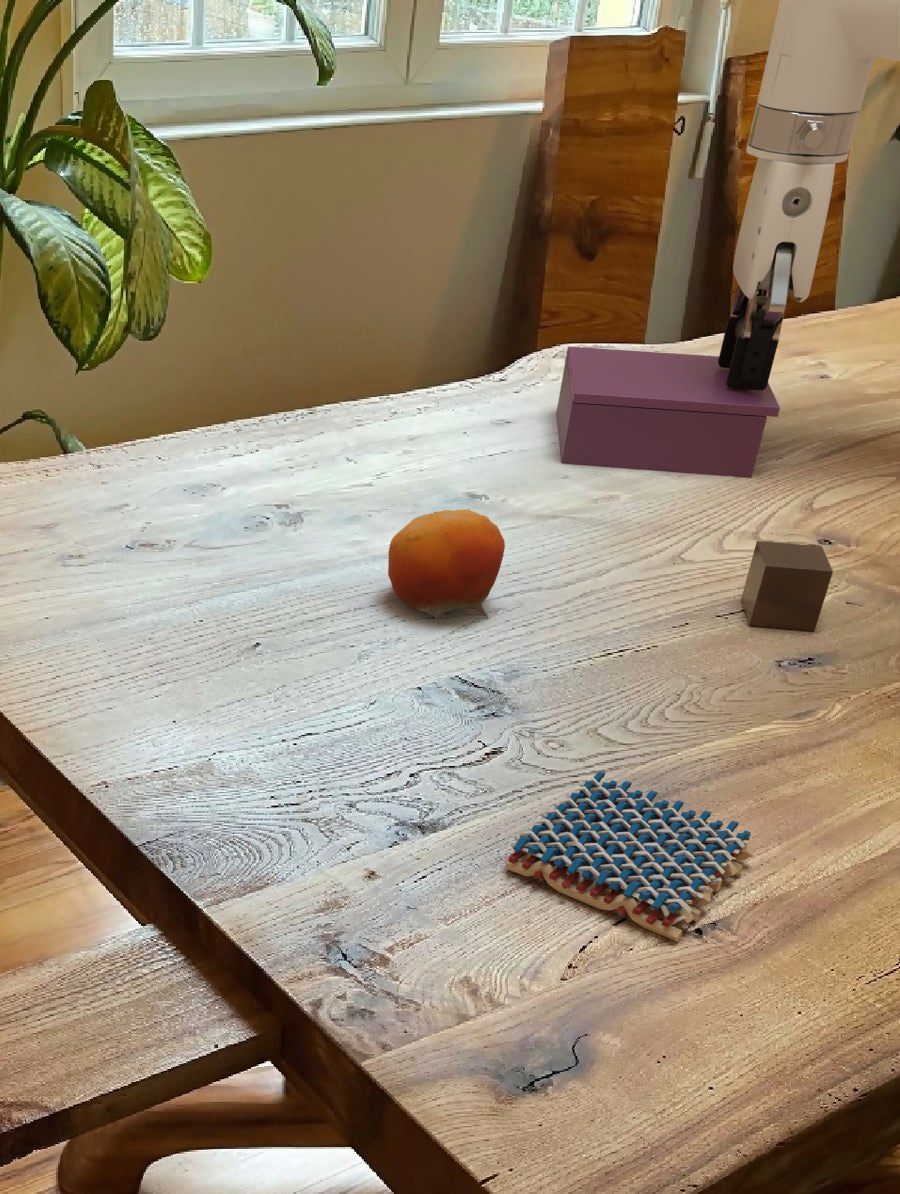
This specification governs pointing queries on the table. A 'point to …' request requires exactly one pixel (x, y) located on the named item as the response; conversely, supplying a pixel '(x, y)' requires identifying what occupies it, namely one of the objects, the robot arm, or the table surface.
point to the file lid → (662, 382)
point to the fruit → (445, 561)
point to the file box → (656, 437)
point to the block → (786, 586)
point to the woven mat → (630, 854)
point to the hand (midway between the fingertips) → (741, 375)
